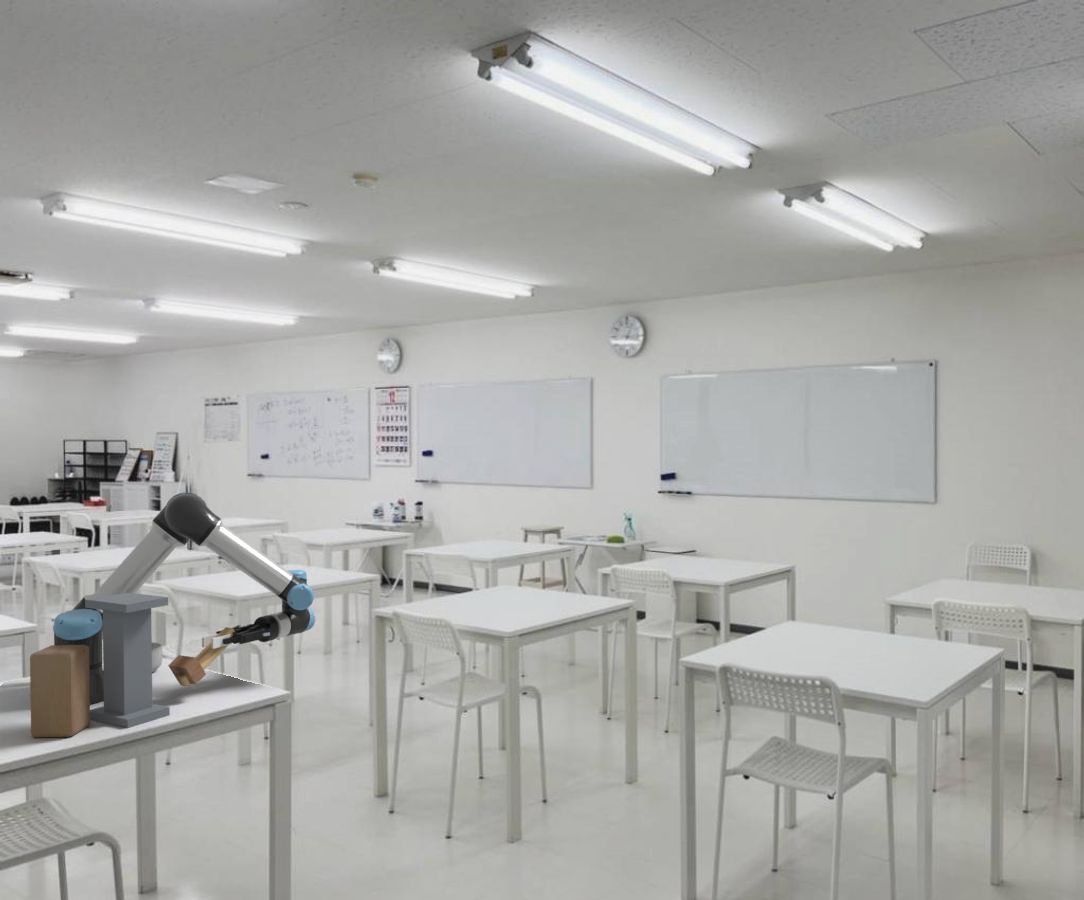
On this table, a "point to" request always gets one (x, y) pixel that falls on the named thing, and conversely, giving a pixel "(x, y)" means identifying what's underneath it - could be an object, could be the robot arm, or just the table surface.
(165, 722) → the table surface
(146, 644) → the tall stand
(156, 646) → the teacup
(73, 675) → the wooden block
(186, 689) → the table surface
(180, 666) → the marking gauge
